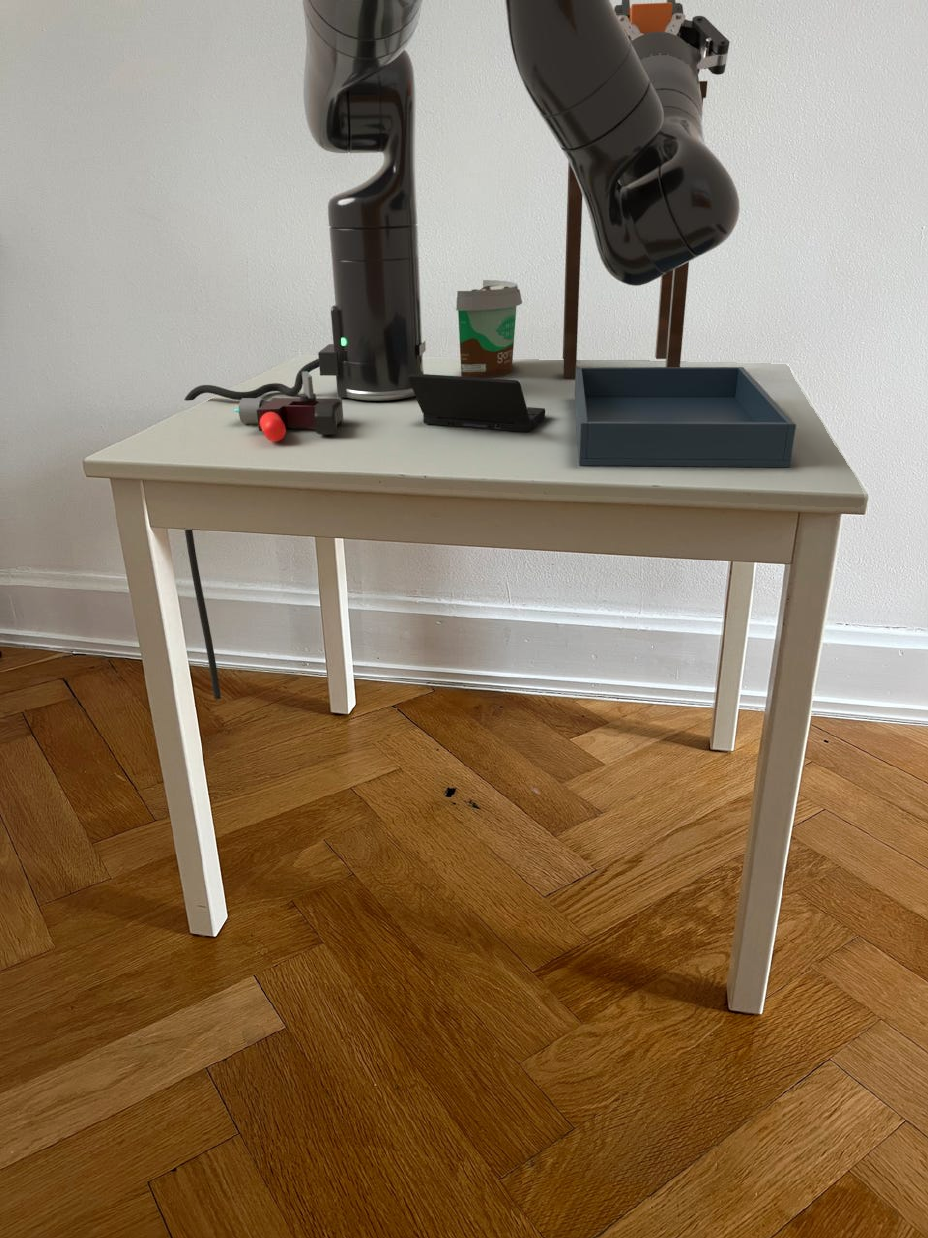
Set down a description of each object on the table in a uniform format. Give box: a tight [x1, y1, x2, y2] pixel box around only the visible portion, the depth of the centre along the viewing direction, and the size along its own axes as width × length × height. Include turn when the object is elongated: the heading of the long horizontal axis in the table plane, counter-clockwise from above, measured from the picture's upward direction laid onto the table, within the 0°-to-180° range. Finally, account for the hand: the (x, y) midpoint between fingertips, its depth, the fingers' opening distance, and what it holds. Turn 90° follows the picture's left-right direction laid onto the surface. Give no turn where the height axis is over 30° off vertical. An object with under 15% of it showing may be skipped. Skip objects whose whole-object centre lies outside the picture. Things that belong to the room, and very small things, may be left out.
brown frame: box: [562, 80, 708, 380], centre depth 105 cm, size 14×14×30 cm
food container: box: [455, 279, 523, 378], centre depth 109 cm, size 12×6×10 cm, turn 164°
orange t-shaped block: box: [630, 2, 672, 34], centre depth 90 cm, size 7×22×3 cm, turn 175°
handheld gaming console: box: [409, 373, 546, 433], centre depth 87 cm, size 12×7×10 cm
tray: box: [574, 366, 797, 468], centre depth 84 cm, size 17×23×4 cm
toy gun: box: [232, 371, 345, 442], centre depth 86 cm, size 10×12×5 cm
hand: (646, 9), depth 85 cm, fingers closed on orange t-shaped block, 3 cm apart
